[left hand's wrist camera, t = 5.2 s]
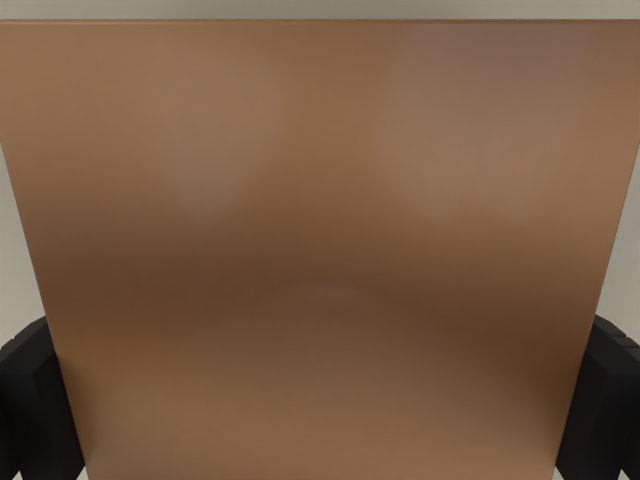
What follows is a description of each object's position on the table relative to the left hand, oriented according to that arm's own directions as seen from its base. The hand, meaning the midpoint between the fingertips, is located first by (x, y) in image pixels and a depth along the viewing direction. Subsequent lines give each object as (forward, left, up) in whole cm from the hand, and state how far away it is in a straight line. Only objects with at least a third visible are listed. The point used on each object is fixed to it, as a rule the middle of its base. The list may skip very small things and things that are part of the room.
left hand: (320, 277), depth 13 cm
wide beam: (+26, -6, 0) cm, 27 cm away
